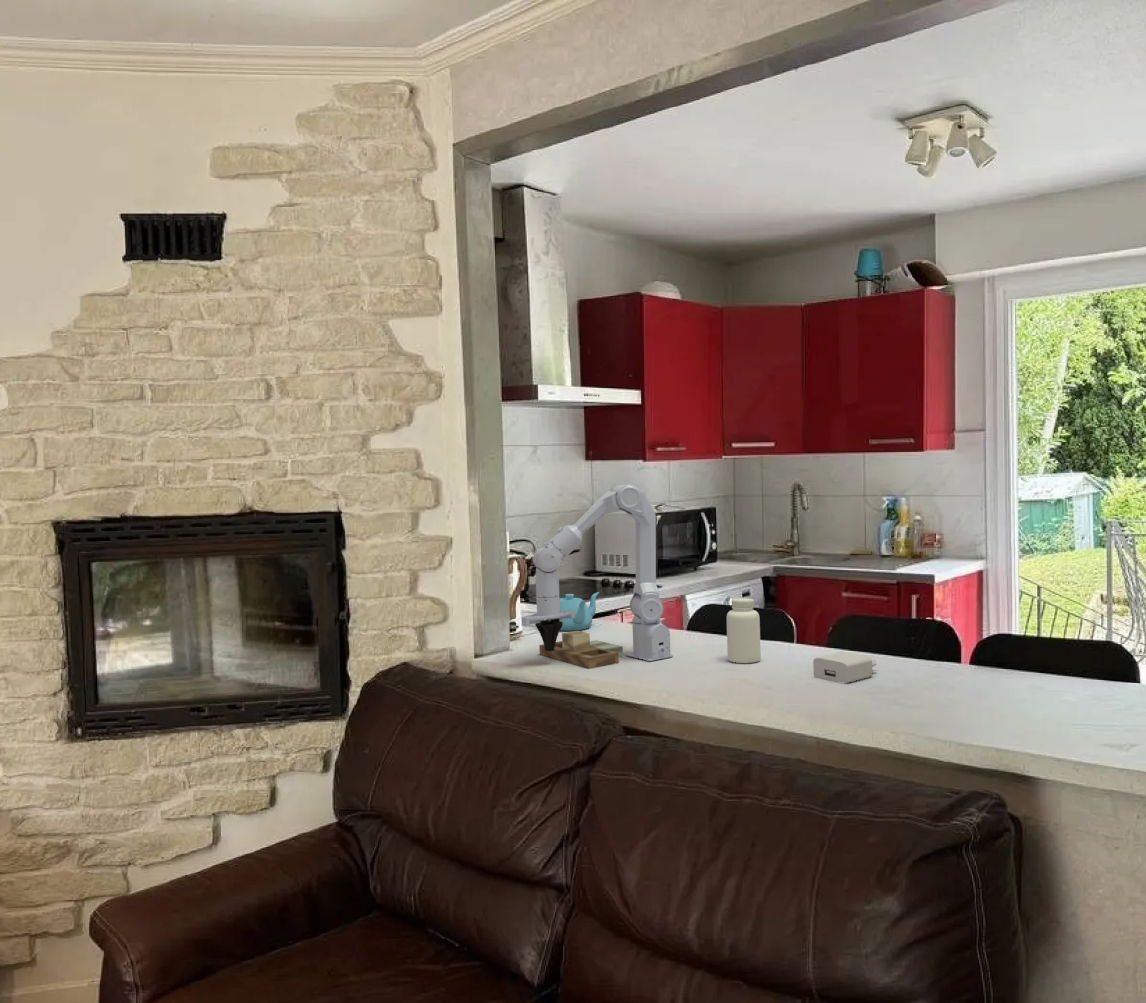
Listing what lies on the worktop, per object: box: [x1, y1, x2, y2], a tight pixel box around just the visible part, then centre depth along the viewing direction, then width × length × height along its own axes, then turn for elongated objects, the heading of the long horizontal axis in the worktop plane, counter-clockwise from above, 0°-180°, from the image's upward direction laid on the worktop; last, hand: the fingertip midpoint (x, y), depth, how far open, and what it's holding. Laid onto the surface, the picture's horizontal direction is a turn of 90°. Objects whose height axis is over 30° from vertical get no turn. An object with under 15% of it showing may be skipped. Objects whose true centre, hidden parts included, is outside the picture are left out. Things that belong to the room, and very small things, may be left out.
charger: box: [812, 651, 877, 684], centre depth 213 cm, size 5×9×15 cm
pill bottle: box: [726, 597, 762, 664], centre depth 231 cm, size 8×8×15 cm
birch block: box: [561, 630, 591, 652], centre depth 239 cm, size 5×5×4 cm
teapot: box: [559, 591, 600, 632], centre depth 282 cm, size 15×15×10 cm
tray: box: [539, 639, 623, 669], centre depth 241 cm, size 22×14×2 cm, turn 35°
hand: (549, 650), depth 235 cm, fingers closed
